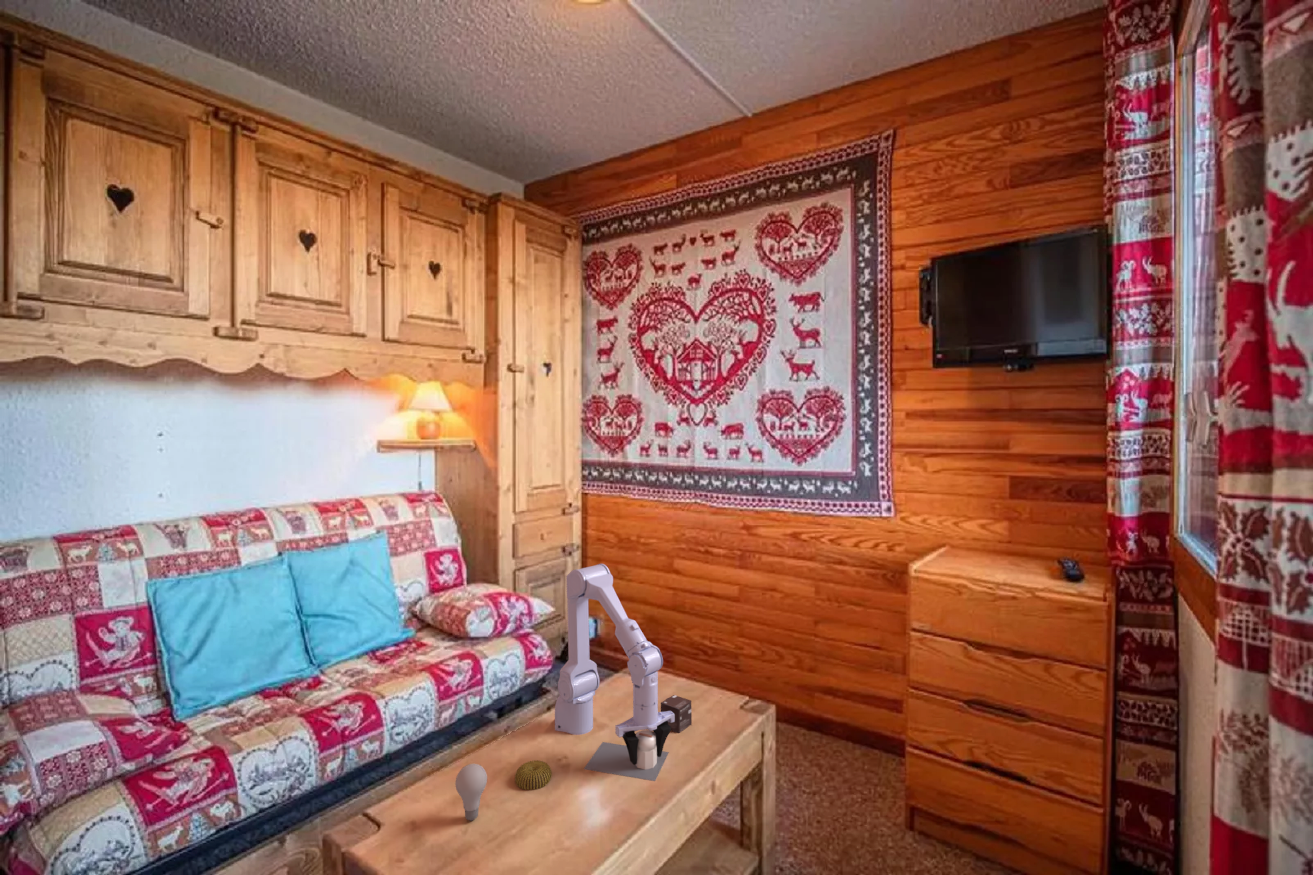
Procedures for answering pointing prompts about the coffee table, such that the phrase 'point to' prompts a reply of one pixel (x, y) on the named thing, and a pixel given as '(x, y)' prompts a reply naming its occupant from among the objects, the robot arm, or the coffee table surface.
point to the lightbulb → (471, 788)
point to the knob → (646, 749)
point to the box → (678, 712)
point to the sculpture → (533, 774)
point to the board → (622, 762)
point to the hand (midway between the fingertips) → (645, 758)
